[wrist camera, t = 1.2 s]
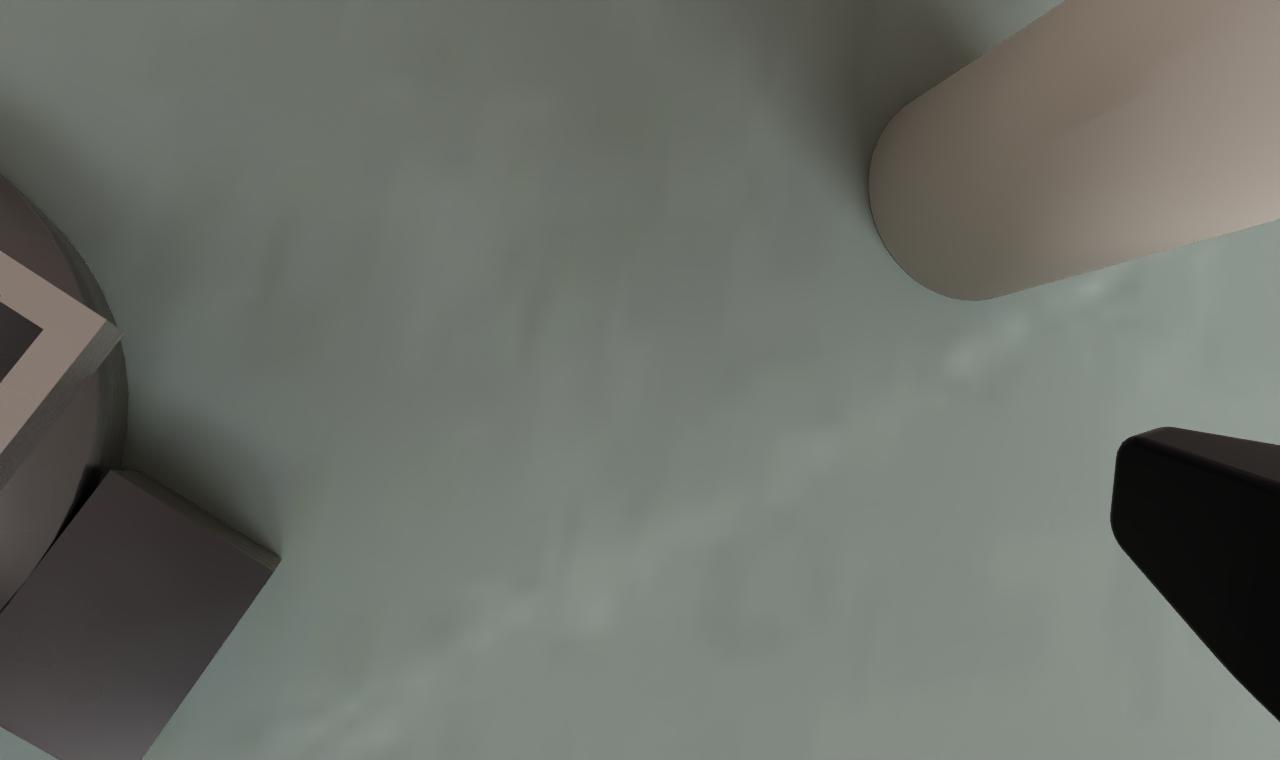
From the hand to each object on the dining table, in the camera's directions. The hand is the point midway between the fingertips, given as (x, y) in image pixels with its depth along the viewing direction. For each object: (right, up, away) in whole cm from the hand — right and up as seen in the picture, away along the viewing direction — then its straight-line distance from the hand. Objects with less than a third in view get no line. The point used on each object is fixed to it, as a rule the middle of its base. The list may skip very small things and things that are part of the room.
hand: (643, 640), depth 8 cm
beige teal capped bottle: (+8, +6, +17) cm, 20 cm away
